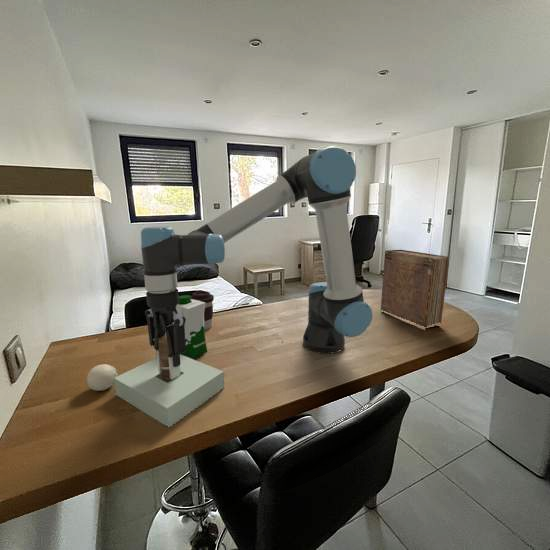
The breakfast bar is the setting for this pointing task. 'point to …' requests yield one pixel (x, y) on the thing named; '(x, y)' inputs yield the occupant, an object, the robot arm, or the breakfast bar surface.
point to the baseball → (101, 377)
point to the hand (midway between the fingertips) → (169, 373)
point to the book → (414, 286)
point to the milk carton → (193, 325)
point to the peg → (164, 358)
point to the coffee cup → (208, 311)
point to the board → (169, 389)
